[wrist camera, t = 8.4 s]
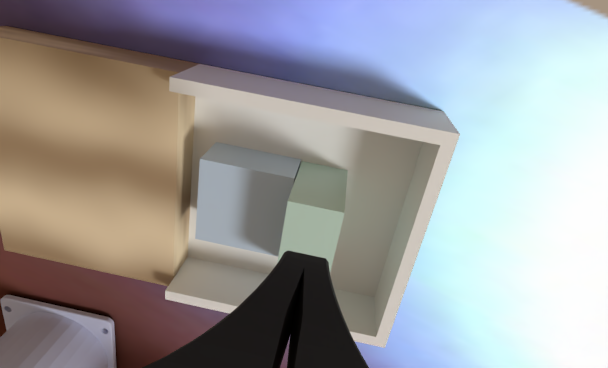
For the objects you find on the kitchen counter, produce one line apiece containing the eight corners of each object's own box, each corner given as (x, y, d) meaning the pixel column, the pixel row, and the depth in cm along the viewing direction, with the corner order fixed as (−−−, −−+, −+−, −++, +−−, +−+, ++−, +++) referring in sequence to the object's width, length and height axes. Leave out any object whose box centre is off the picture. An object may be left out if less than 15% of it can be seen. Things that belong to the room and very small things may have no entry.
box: (381, 302, 25) (384, 347, 21) (189, 260, 25) (165, 299, 22) (443, 111, 19) (460, 134, 16) (200, 63, 20) (169, 76, 17)
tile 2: (288, 232, 23) (280, 257, 21) (210, 215, 23) (195, 238, 21) (301, 159, 21) (294, 178, 19) (216, 142, 21) (199, 158, 19)
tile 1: (289, 233, 23) (330, 242, 23) (273, 285, 19) (324, 296, 19) (301, 161, 21) (347, 170, 21) (287, 200, 17) (344, 212, 17)
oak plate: (189, 260, 25) (173, 287, 23) (35, 227, 26) (4, 250, 23) (200, 63, 20) (179, 72, 18) (5, 25, 20) (-39, 29, 18)
